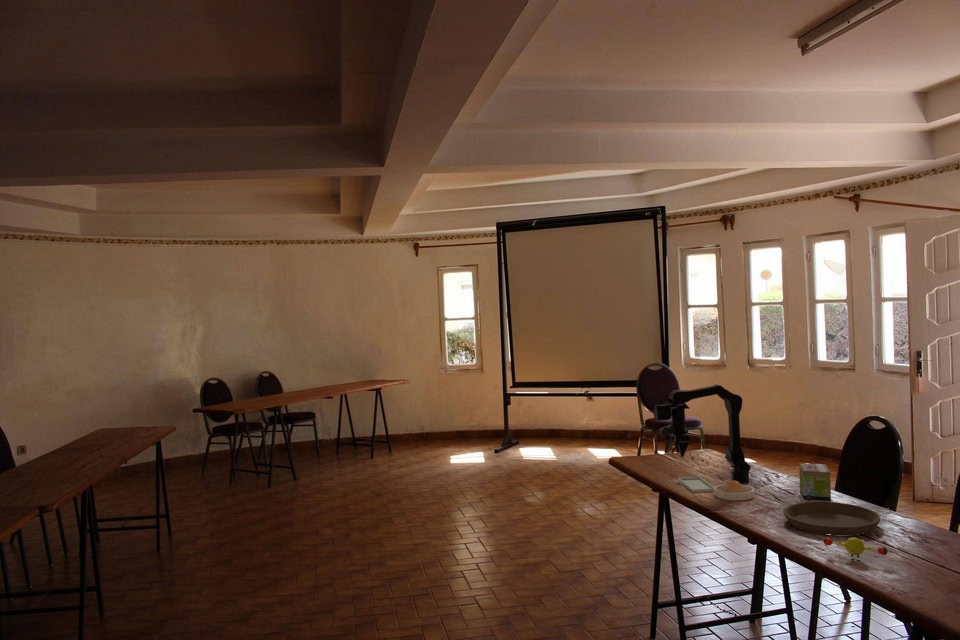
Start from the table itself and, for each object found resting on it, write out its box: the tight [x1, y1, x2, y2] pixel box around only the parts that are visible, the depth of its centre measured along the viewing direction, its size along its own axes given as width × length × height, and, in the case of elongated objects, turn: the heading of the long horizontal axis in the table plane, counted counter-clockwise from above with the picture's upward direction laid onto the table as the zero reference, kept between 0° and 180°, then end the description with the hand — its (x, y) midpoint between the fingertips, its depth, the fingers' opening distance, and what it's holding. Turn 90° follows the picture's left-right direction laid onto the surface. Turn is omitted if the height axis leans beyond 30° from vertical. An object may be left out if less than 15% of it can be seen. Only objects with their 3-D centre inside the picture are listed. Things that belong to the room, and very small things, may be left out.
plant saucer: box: [782, 501, 881, 535], centre depth 257 cm, size 31×31×5 cm
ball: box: [726, 479, 742, 493], centre depth 299 cm, size 6×6×6 cm
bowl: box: [713, 483, 756, 501], centre depth 299 cm, size 16×16×4 cm
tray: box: [677, 476, 715, 494], centre depth 317 cm, size 10×22×2 cm, turn 1°
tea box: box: [799, 463, 832, 503], centre depth 283 cm, size 15×10×15 cm
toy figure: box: [823, 536, 889, 559], centre depth 222 cm, size 18×6×7 cm, turn 48°
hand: (680, 454), depth 319 cm, fingers open, 9 cm apart
